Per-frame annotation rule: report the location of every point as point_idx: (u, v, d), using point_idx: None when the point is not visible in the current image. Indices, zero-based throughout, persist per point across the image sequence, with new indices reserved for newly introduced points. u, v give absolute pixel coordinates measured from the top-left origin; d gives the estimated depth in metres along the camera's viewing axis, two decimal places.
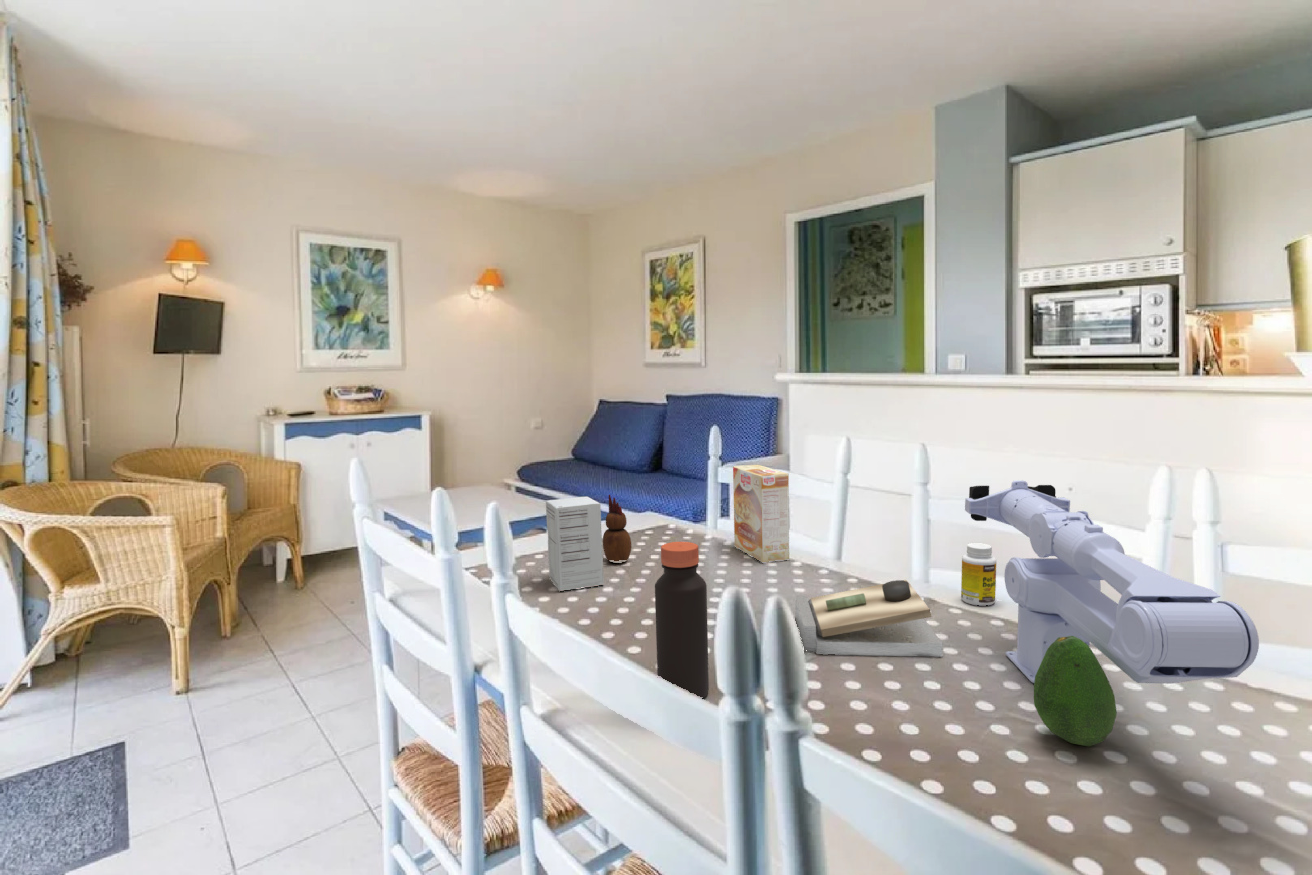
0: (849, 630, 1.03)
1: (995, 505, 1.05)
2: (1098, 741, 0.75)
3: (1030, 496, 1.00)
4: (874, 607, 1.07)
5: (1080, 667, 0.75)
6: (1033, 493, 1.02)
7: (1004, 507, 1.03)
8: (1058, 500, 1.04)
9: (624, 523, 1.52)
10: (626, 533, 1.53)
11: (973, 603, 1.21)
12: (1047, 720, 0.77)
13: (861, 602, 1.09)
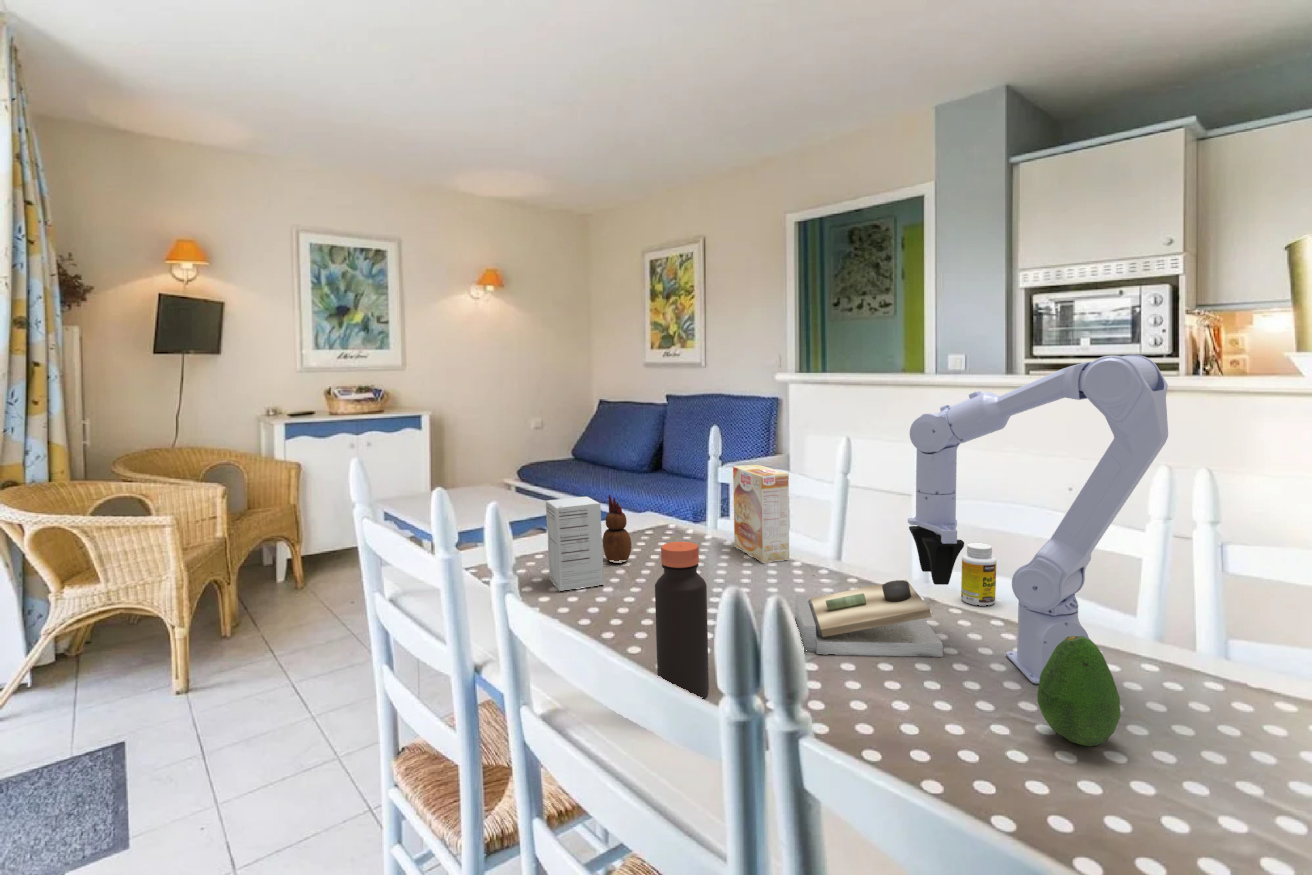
0: (849, 630, 1.03)
1: (940, 526, 1.04)
2: (1099, 742, 0.75)
3: (917, 491, 1.06)
4: (874, 607, 1.07)
5: (1088, 667, 0.75)
6: None
7: (937, 513, 1.04)
8: None
9: (624, 523, 1.52)
10: (626, 533, 1.53)
11: (973, 603, 1.21)
12: (1050, 717, 0.77)
13: (861, 602, 1.09)
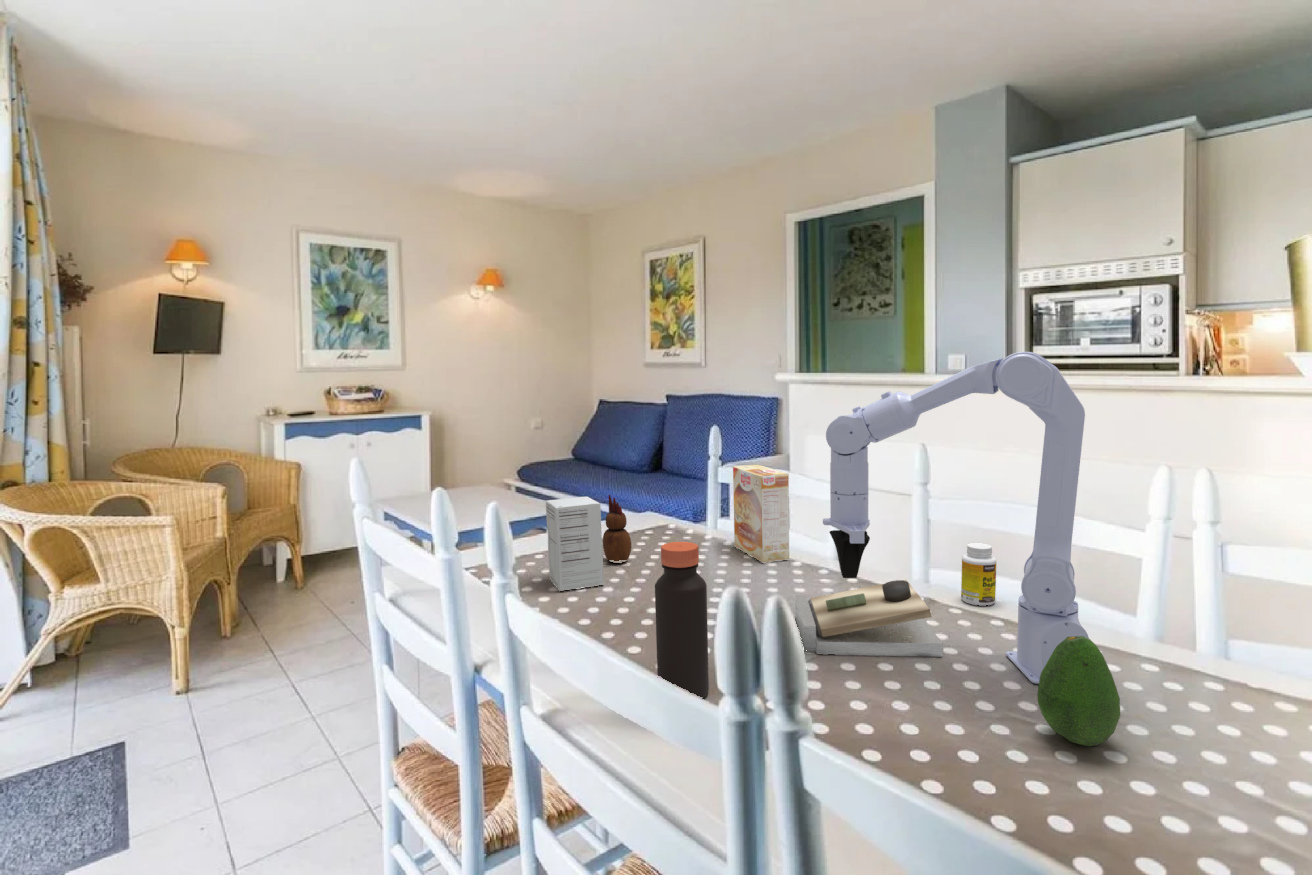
0: (849, 630, 1.03)
1: None
2: (1099, 742, 0.75)
3: (831, 491, 1.08)
4: (874, 607, 1.07)
5: (1088, 667, 0.75)
6: (830, 504, 1.09)
7: (849, 513, 1.05)
8: None
9: (624, 523, 1.52)
10: (626, 533, 1.53)
11: (973, 603, 1.21)
12: (1050, 717, 0.77)
13: (861, 602, 1.09)
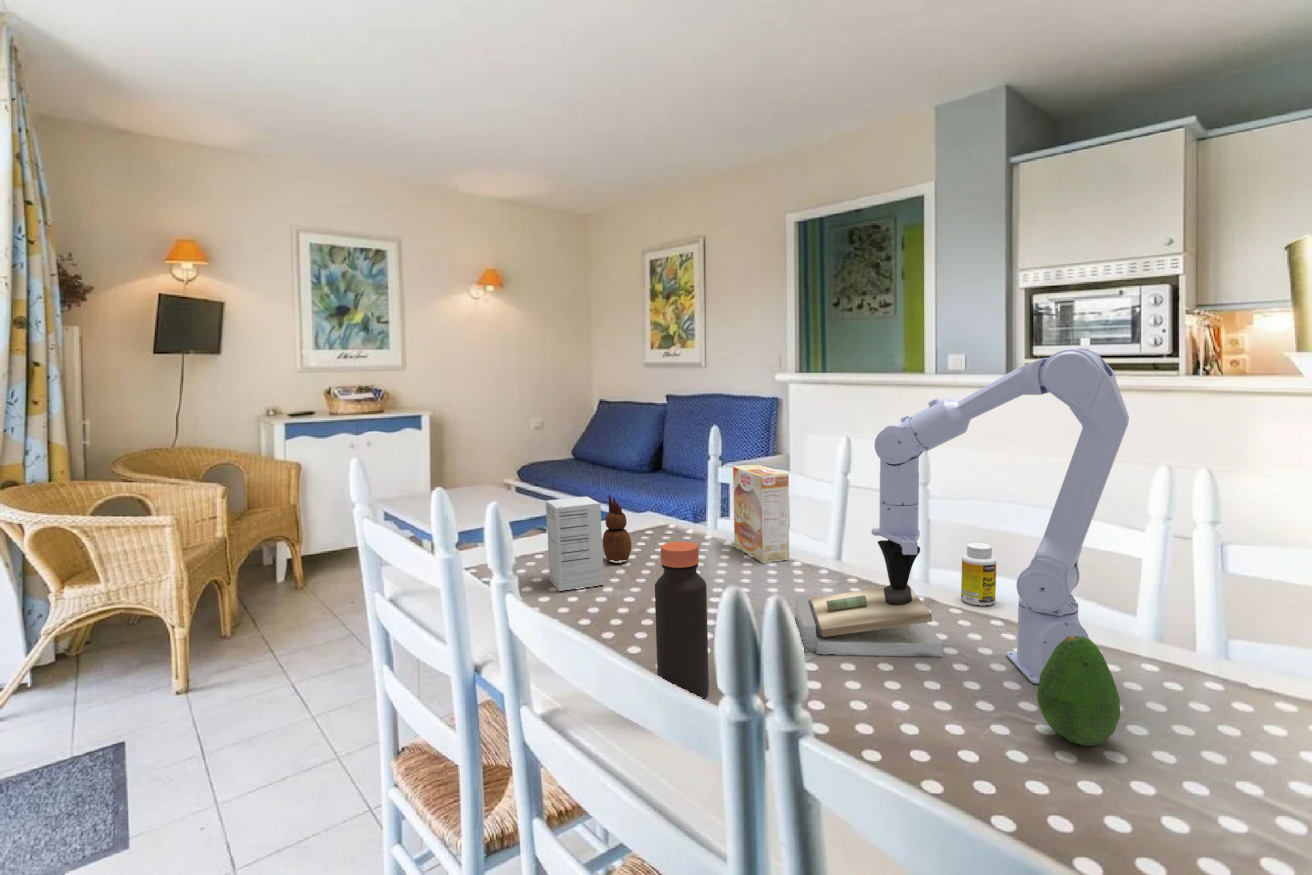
0: (849, 631, 1.03)
1: (902, 537, 1.04)
2: (1099, 742, 0.75)
3: (880, 502, 1.07)
4: (875, 609, 1.07)
5: (1088, 667, 0.75)
6: None
7: (899, 524, 1.05)
8: None
9: (624, 523, 1.52)
10: (626, 533, 1.53)
11: (973, 603, 1.21)
12: (1050, 717, 0.77)
13: (862, 604, 1.09)
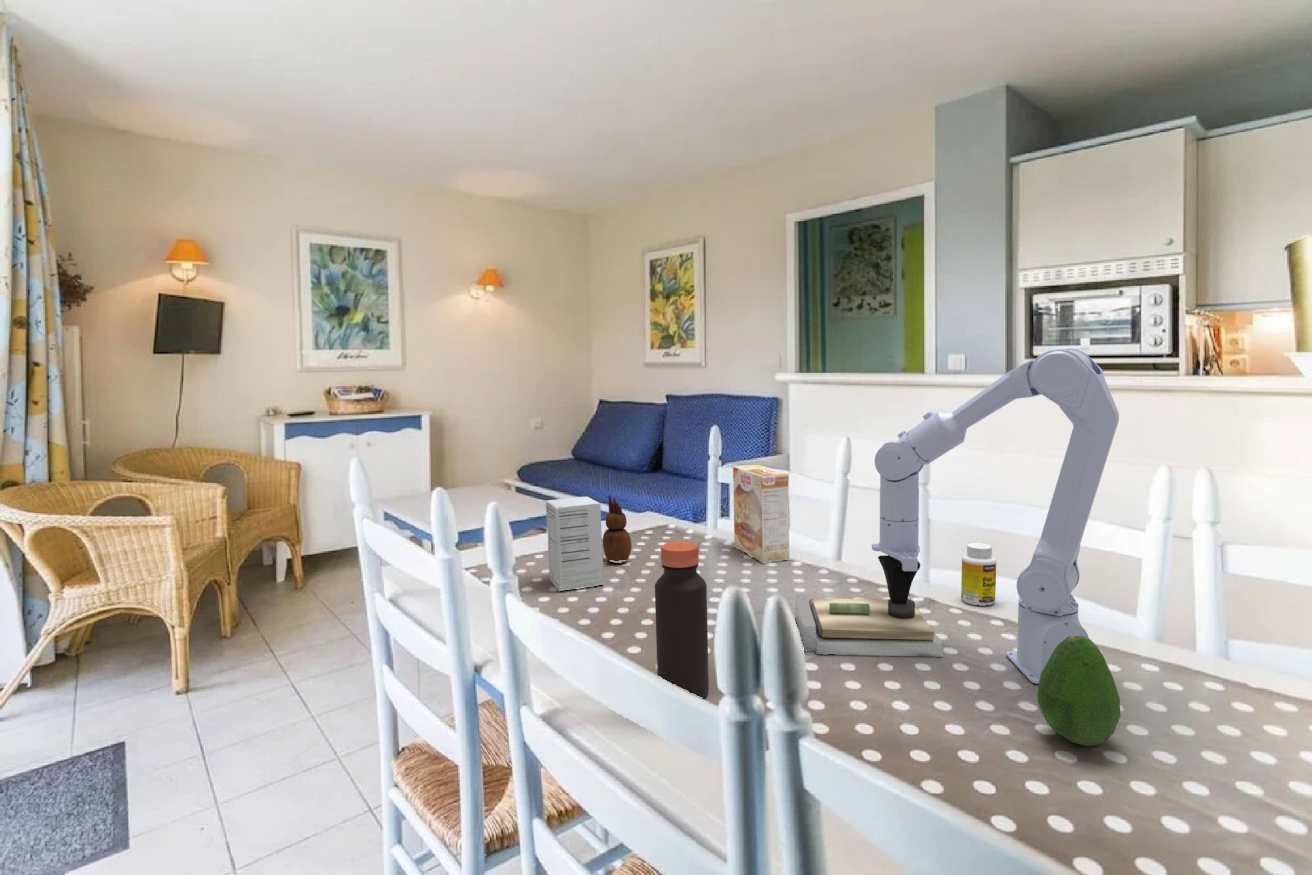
0: (850, 636, 1.03)
1: (902, 553, 1.05)
2: (1099, 742, 0.75)
3: (880, 517, 1.07)
4: (877, 618, 1.07)
5: (1088, 667, 0.75)
6: None
7: (900, 540, 1.05)
8: None
9: (624, 523, 1.52)
10: (626, 533, 1.53)
11: (973, 603, 1.21)
12: (1050, 717, 0.77)
13: (864, 612, 1.09)
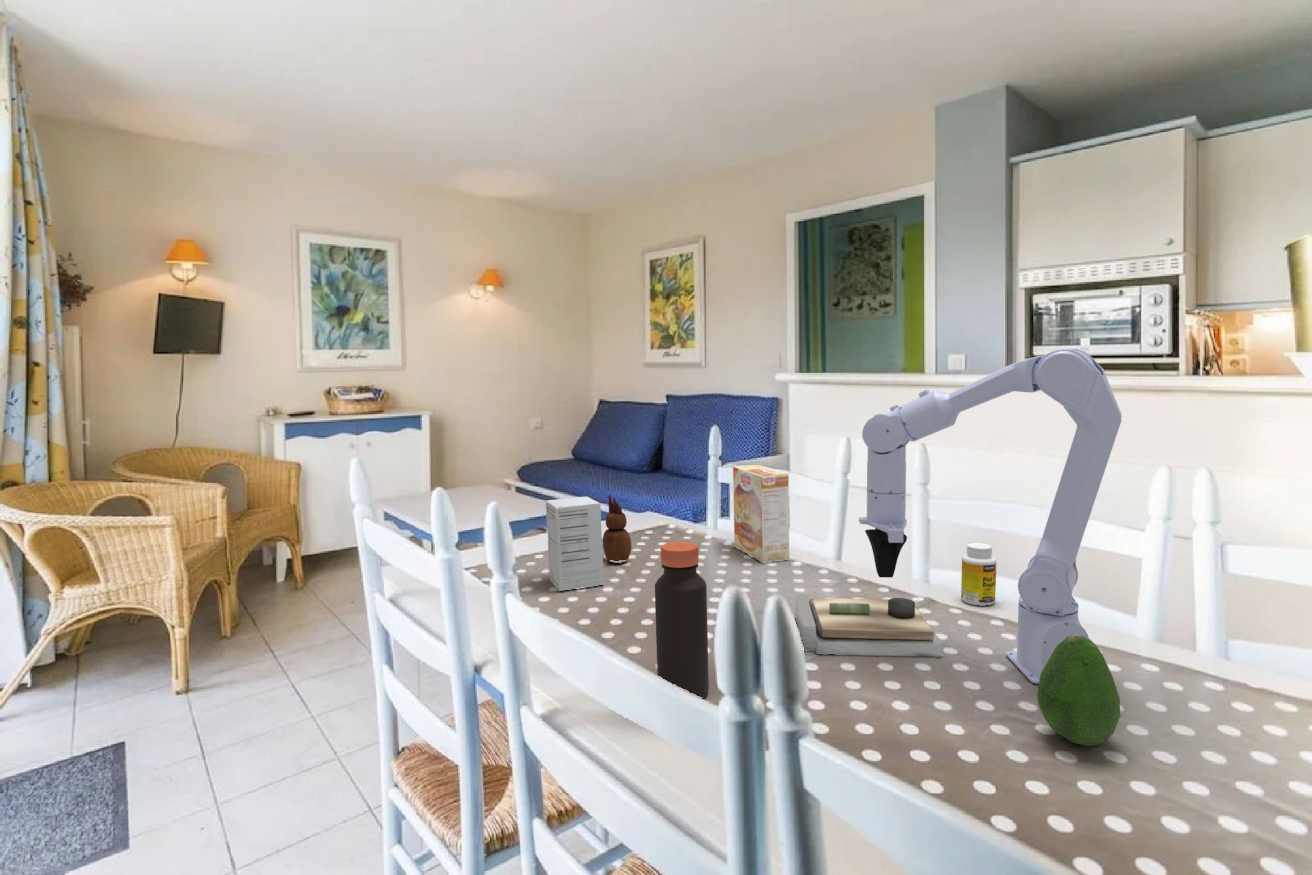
0: (850, 636, 1.03)
1: (889, 525, 1.05)
2: (1099, 742, 0.75)
3: (868, 490, 1.07)
4: (877, 618, 1.07)
5: (1088, 667, 0.75)
6: None
7: (886, 512, 1.05)
8: None
9: (624, 523, 1.52)
10: (626, 533, 1.53)
11: (973, 603, 1.21)
12: (1050, 717, 0.77)
13: (864, 612, 1.09)
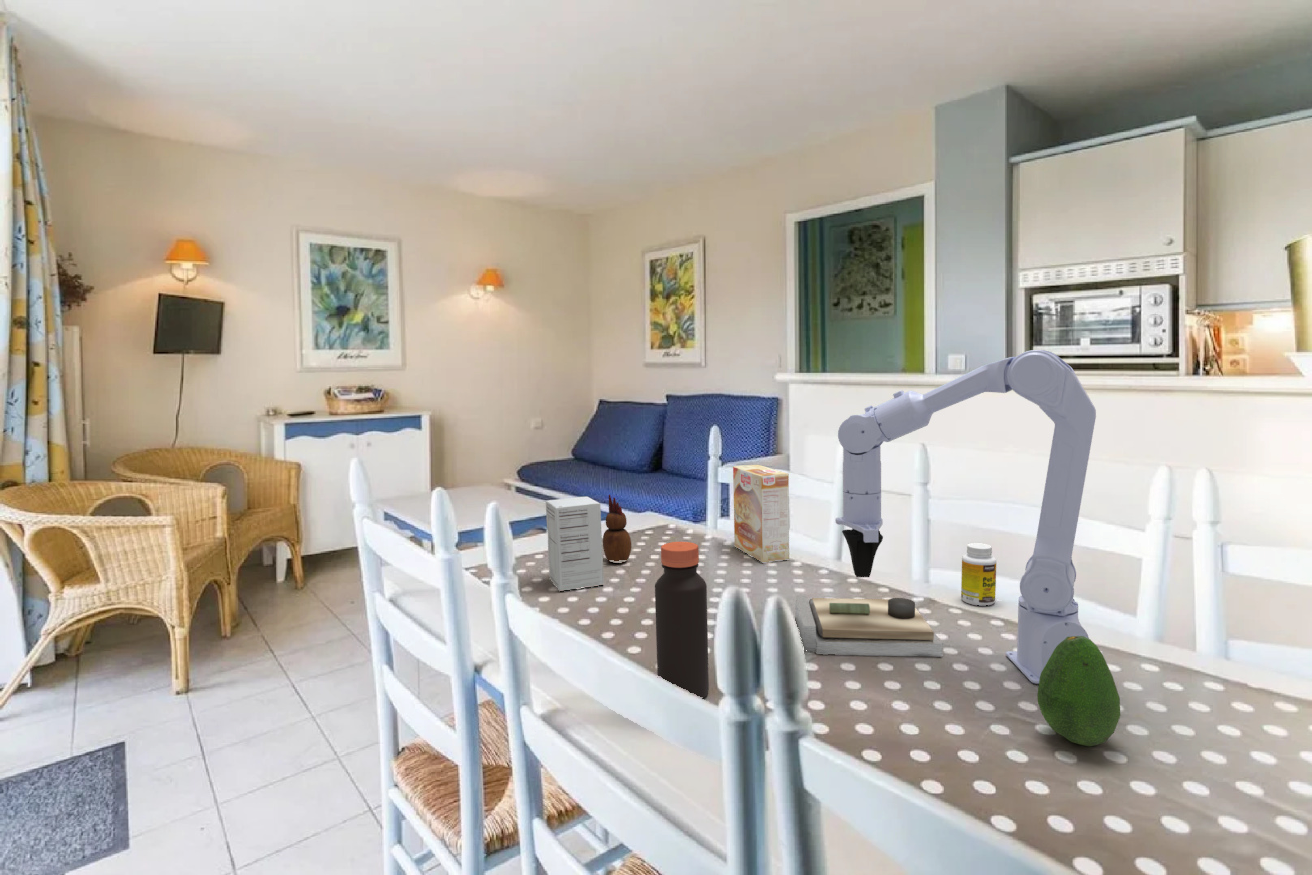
0: (850, 636, 1.03)
1: (864, 525, 1.05)
2: (1099, 742, 0.75)
3: (843, 491, 1.08)
4: (877, 618, 1.07)
5: (1088, 667, 0.75)
6: None
7: (862, 512, 1.06)
8: None
9: (624, 523, 1.52)
10: (626, 533, 1.53)
11: (973, 603, 1.21)
12: (1050, 717, 0.77)
13: (864, 612, 1.09)
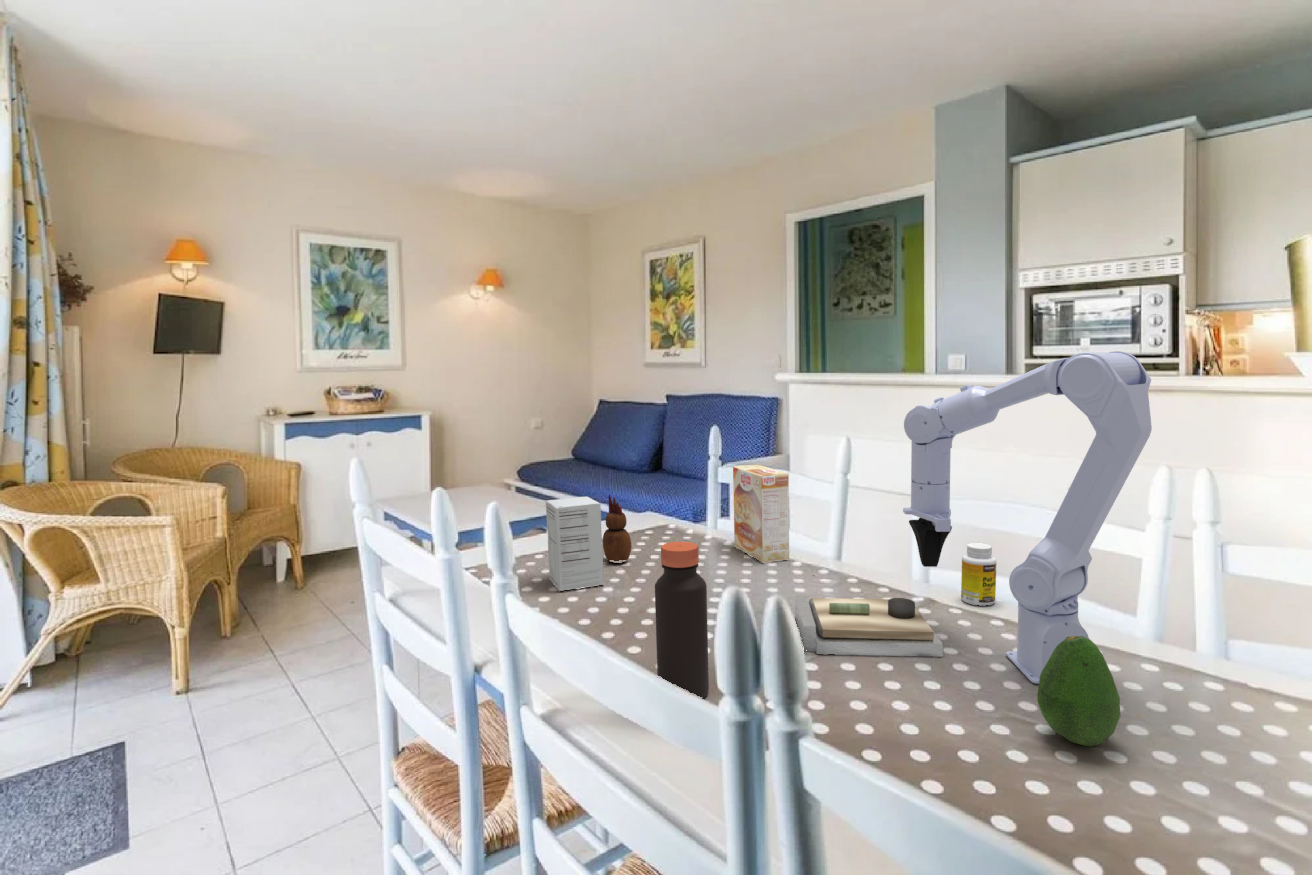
0: (850, 636, 1.03)
1: (934, 515, 1.07)
2: (1099, 742, 0.75)
3: (912, 481, 1.09)
4: (877, 618, 1.07)
5: (1088, 667, 0.75)
6: None
7: (932, 502, 1.07)
8: None
9: (624, 523, 1.52)
10: (626, 533, 1.53)
11: (973, 603, 1.21)
12: (1050, 717, 0.77)
13: (864, 612, 1.09)
